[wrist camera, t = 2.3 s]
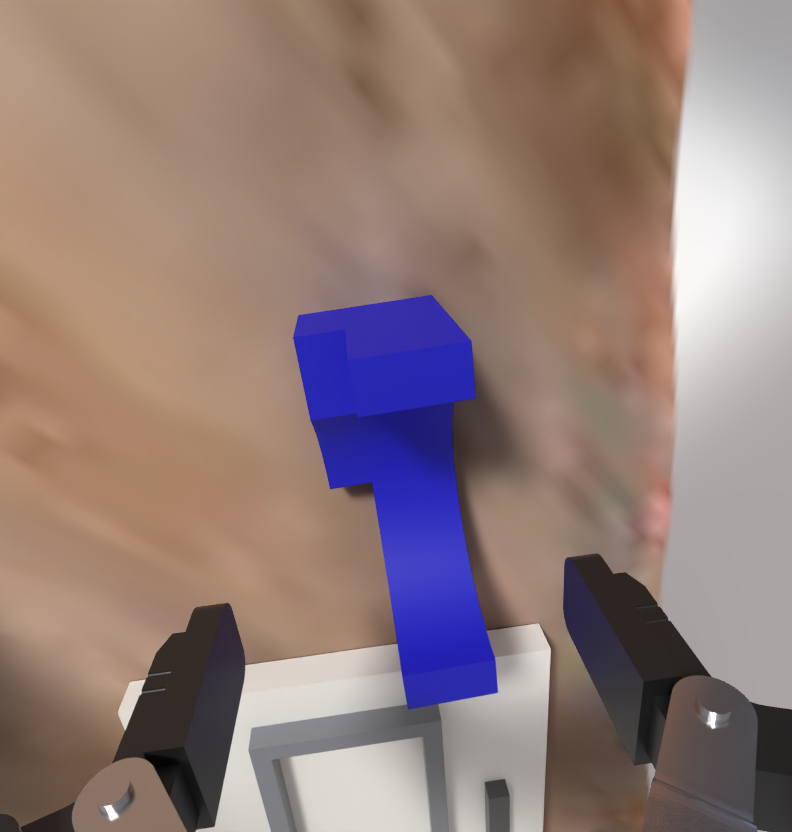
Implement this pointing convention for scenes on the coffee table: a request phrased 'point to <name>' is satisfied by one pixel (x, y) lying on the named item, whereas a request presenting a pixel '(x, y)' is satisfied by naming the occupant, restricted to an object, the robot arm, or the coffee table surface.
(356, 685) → the board
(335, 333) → the cable clip
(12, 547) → the coffee table surface
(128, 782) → the robot arm
